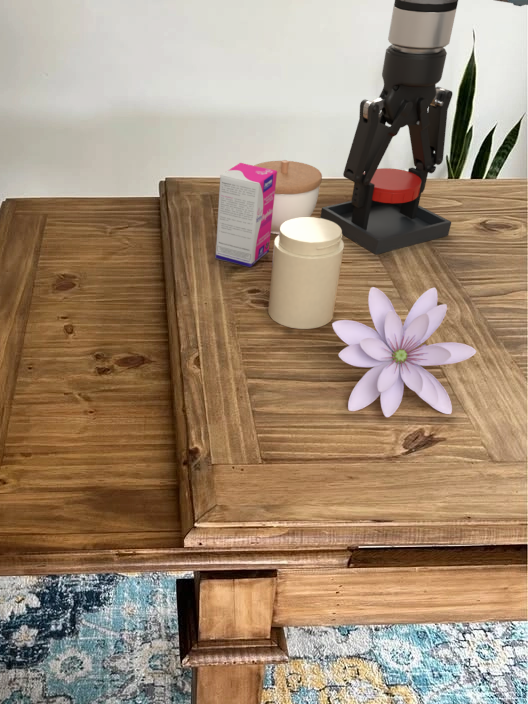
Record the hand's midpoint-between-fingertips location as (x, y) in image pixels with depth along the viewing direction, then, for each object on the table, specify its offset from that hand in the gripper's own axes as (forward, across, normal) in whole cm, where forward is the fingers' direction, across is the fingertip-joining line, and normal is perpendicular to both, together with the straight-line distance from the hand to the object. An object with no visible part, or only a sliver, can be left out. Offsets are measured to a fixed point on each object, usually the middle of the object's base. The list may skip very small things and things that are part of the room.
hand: (383, 221), depth 108 cm
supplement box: (+1, +23, -2) cm, 23 cm away
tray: (+1, 0, 0) cm, 1 cm away
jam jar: (+1, +25, +15) cm, 29 cm away
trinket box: (+1, +13, -8) cm, 15 cm away
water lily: (+1, +27, +34) cm, 44 cm away
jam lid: (-6, 0, 0) cm, 6 cm away
